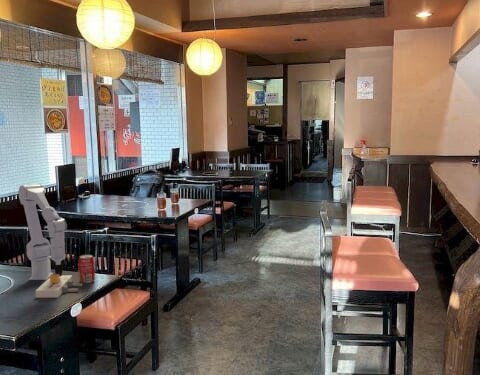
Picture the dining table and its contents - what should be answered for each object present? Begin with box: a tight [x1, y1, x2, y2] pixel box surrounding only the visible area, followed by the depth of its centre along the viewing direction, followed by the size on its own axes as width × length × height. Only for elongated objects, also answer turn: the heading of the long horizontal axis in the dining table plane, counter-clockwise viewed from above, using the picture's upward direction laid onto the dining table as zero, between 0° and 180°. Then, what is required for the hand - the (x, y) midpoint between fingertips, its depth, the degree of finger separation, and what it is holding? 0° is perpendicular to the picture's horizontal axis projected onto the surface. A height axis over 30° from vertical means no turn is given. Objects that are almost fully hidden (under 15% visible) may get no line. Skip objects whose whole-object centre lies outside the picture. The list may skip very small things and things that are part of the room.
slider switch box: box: [35, 274, 73, 299], centre depth 200 cm, size 20×9×3 cm, turn 4°
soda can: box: [77, 254, 96, 284], centre depth 210 cm, size 7×7×12 cm
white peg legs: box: [62, 280, 84, 294], centre depth 200 cm, size 9×6×2 cm, turn 4°
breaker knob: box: [49, 273, 60, 283], centre depth 199 cm, size 2×3×3 cm
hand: (58, 276), depth 204 cm, fingers closed
